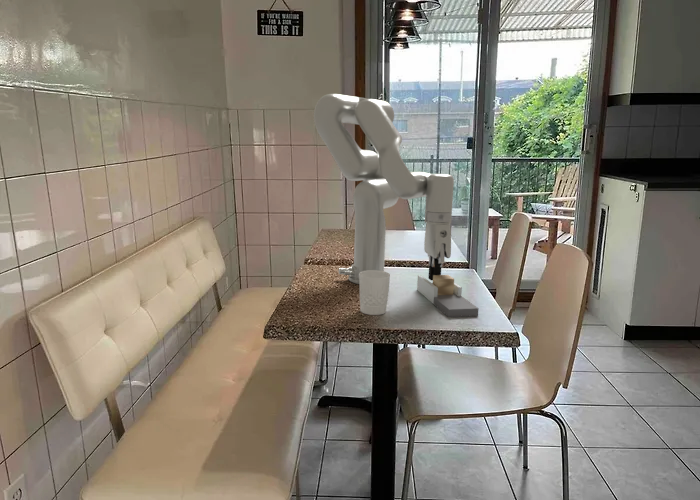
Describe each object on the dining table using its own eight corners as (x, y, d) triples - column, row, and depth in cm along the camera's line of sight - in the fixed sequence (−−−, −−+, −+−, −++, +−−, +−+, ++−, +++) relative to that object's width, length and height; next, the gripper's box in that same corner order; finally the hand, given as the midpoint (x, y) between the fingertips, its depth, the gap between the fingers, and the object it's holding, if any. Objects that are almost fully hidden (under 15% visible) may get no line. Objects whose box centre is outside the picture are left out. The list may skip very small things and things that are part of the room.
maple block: (437, 295, 148) (438, 279, 147) (432, 290, 153) (433, 275, 152) (453, 294, 149) (454, 278, 148) (447, 290, 154) (448, 274, 153)
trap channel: (448, 317, 136) (449, 300, 136) (416, 289, 160) (417, 275, 159) (477, 315, 138) (479, 299, 137) (442, 289, 162) (443, 274, 161)
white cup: (394, 311, 140) (396, 274, 138) (375, 318, 134) (376, 279, 132) (371, 304, 145) (372, 268, 143) (351, 311, 139) (352, 273, 137)
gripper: (460, 221, 147) (456, 286, 151) (440, 213, 161) (437, 273, 165) (435, 221, 146) (431, 286, 149) (417, 213, 160) (414, 273, 164)
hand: (434, 279), depth 157 cm, fingers closed
